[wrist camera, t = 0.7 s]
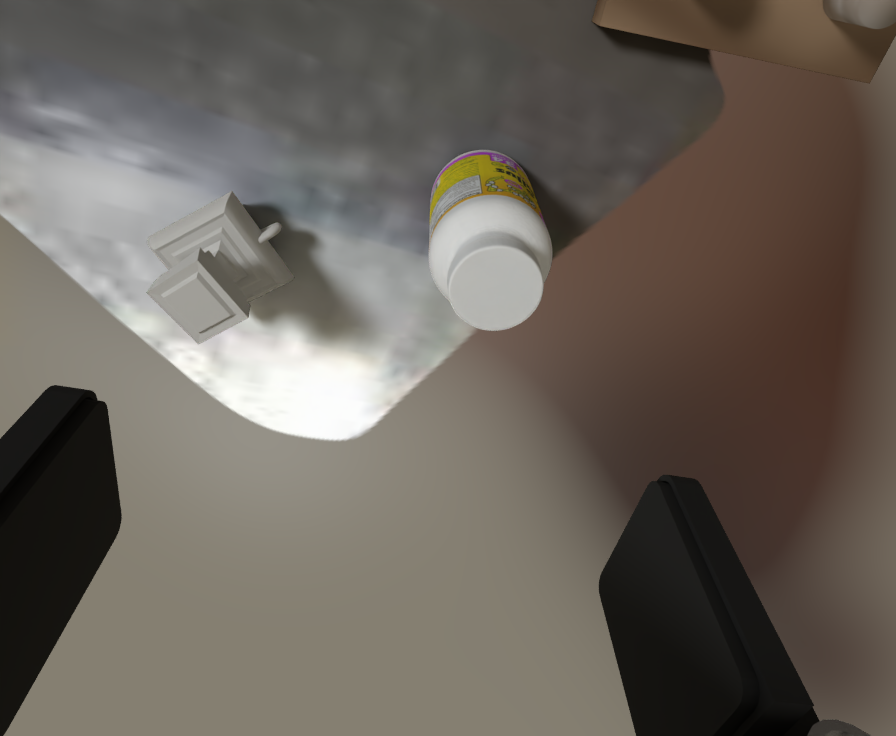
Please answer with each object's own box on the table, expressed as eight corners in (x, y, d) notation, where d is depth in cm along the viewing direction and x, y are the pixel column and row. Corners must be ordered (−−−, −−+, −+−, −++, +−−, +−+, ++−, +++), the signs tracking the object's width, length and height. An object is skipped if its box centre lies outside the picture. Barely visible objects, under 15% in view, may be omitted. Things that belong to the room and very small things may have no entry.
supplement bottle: (548, 212, 40) (588, 309, 30) (464, 261, 42) (474, 369, 32) (499, 124, 37) (523, 199, 27) (410, 182, 39) (400, 273, 29)
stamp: (256, 168, 38) (218, 219, 32) (316, 253, 42) (293, 316, 35) (148, 229, 41) (90, 290, 34) (213, 305, 44) (173, 374, 37)
